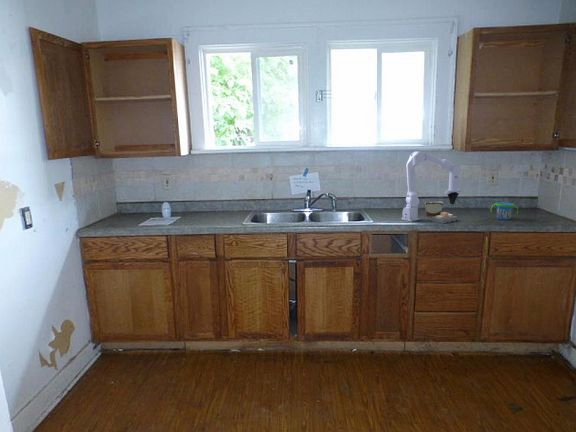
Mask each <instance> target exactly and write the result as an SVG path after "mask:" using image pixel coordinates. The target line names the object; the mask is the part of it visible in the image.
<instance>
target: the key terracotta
mask: <svg viewBox="0 0 576 432" xmlns="http://www.w3.org/2000/svg"><path fill="white" fill-rule="evenodd" d="M448 214H450V212H446V211H441V214H440V215H441V216H444V218H447V217H448Z"/></svg>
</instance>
